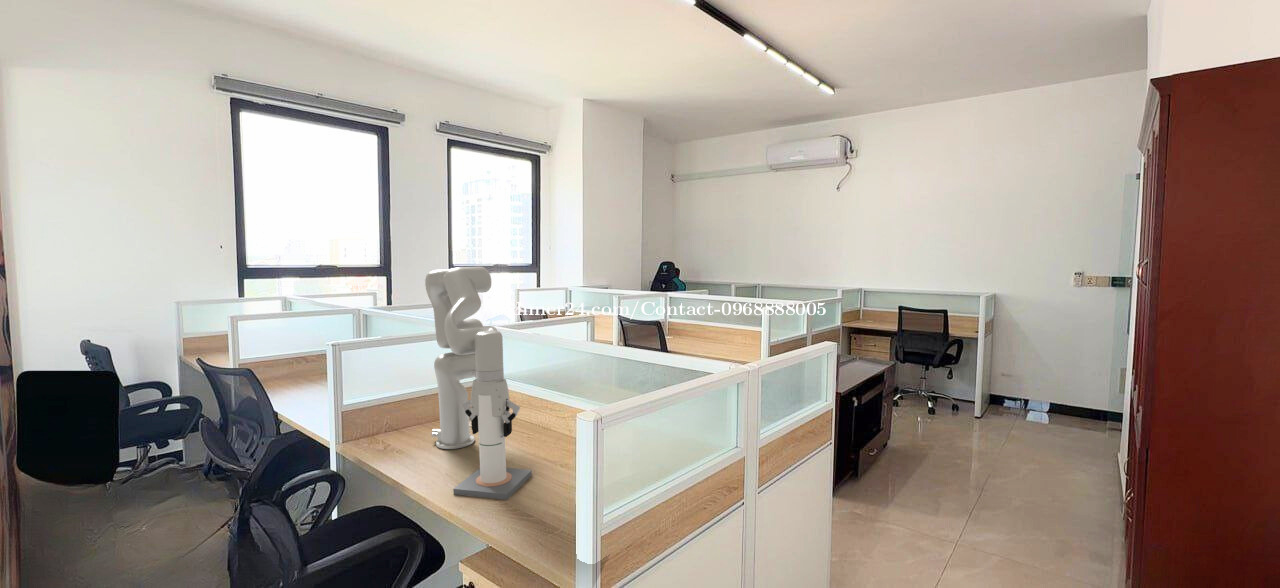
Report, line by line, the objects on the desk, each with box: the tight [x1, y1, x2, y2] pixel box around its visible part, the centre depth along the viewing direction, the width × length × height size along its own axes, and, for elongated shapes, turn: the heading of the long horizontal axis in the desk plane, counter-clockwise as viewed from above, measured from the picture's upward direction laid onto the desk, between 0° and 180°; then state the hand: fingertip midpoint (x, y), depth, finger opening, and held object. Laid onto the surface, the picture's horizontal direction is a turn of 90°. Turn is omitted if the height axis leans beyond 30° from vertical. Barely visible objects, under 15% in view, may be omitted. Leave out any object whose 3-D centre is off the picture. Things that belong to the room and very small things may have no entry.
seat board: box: [452, 467, 533, 501], centre depth 157 cm, size 16×16×2 cm
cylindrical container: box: [478, 395, 507, 483], centre depth 156 cm, size 7×7×25 cm
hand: (491, 433), depth 156 cm, fingers open, 9 cm apart
